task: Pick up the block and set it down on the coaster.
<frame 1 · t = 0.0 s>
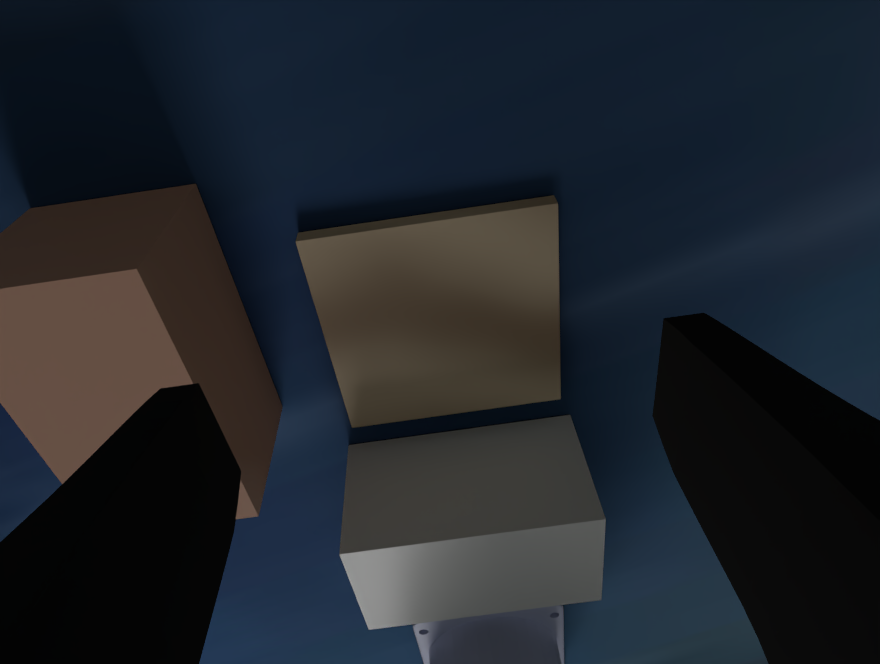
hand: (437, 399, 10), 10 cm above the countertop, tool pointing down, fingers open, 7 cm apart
block: (465, 471, 26), on the countertop
brown boxy piece: (172, 320, 20), on the countertop
coaster: (441, 319, 21), on the countertop
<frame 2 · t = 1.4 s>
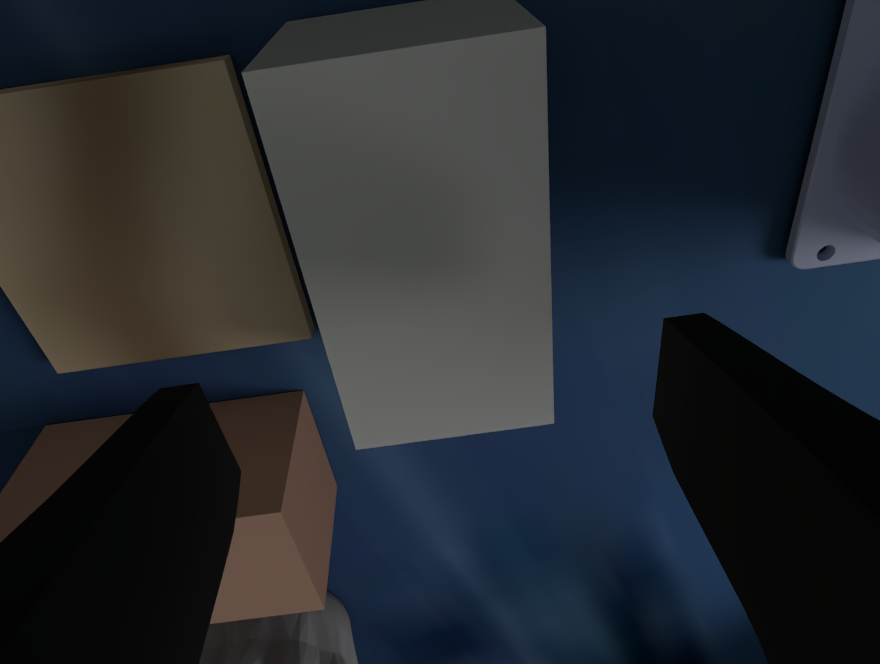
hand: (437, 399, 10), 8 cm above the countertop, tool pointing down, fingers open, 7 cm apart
block: (421, 189, 16), on the countertop
cupcake: (284, 610, 29), on the countertop
brown boxy piece: (200, 457, 22), on the countertop
coaster: (136, 230, 17), on the countertop
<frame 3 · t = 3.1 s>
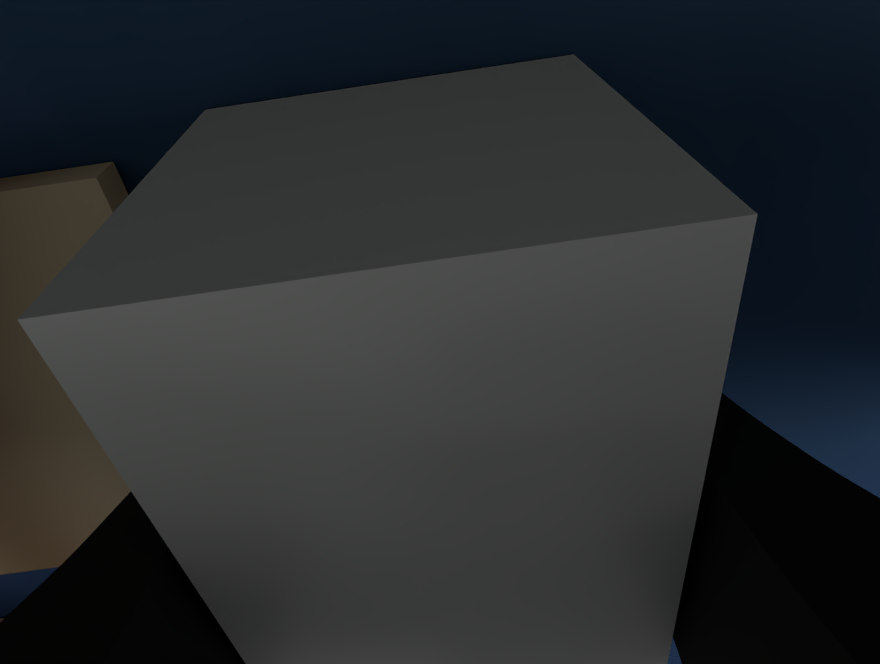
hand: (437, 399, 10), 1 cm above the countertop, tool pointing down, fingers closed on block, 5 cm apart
block: (432, 346, 11), on the countertop, touching gripper
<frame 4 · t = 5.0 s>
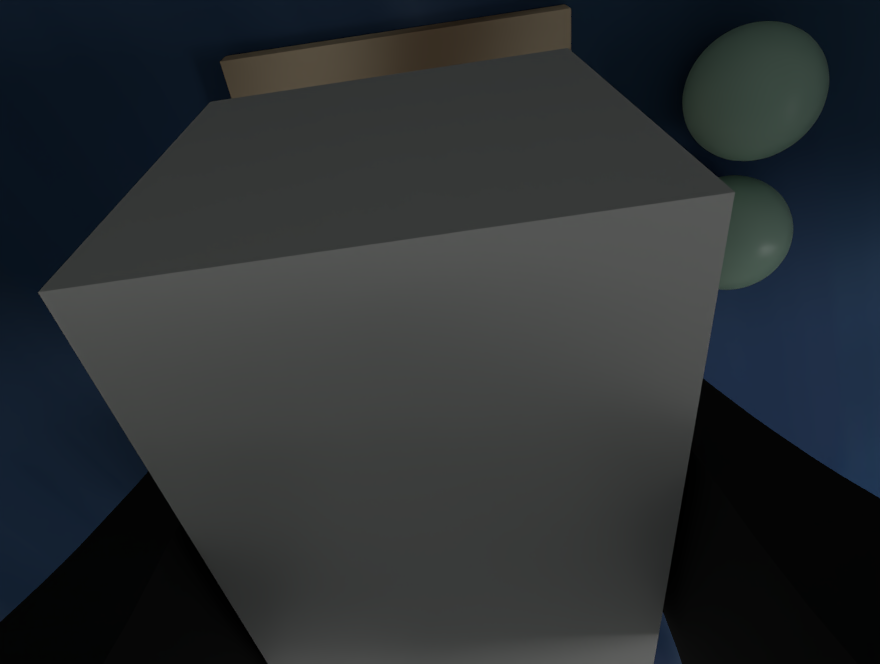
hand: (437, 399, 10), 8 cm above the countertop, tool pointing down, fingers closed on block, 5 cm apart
block: (431, 334, 11), point 7 cm above the countertop, touching gripper
coaster: (419, 191, 16), on the countertop
marble B: (704, 209, 17), on the countertop
marble A: (723, 78, 15), on the countertop
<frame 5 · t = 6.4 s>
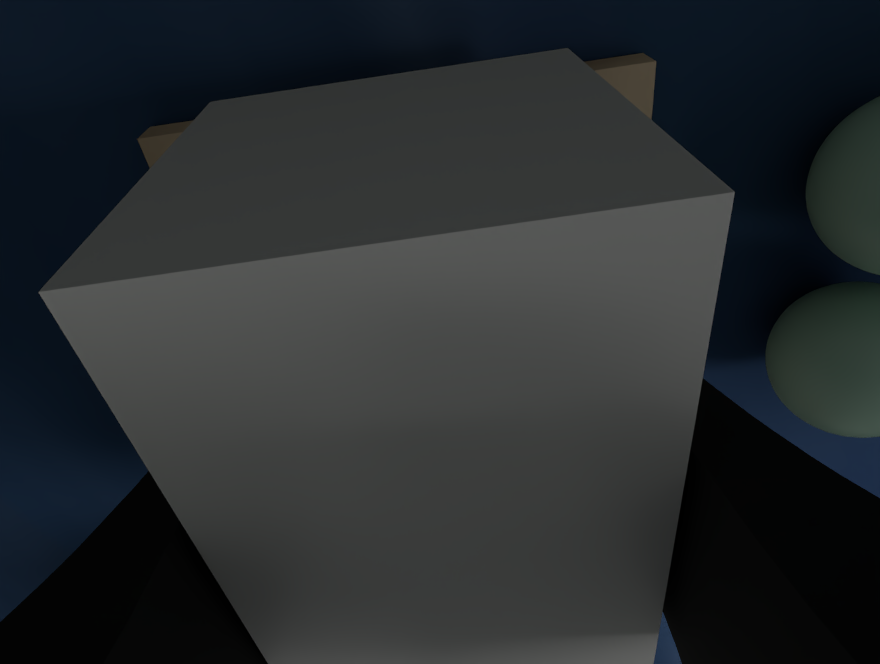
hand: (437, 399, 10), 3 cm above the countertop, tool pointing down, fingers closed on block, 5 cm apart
block: (431, 334, 11), point 1 cm above the countertop, touching gripper
coaster: (428, 298, 12), on the countertop
marble B: (809, 315, 13), on the countertop
marble A: (857, 151, 11), on the countertop
when the fingers open (3 cm above the countertop, at t = 7.2 s): block stays where it is, resting on coaster.
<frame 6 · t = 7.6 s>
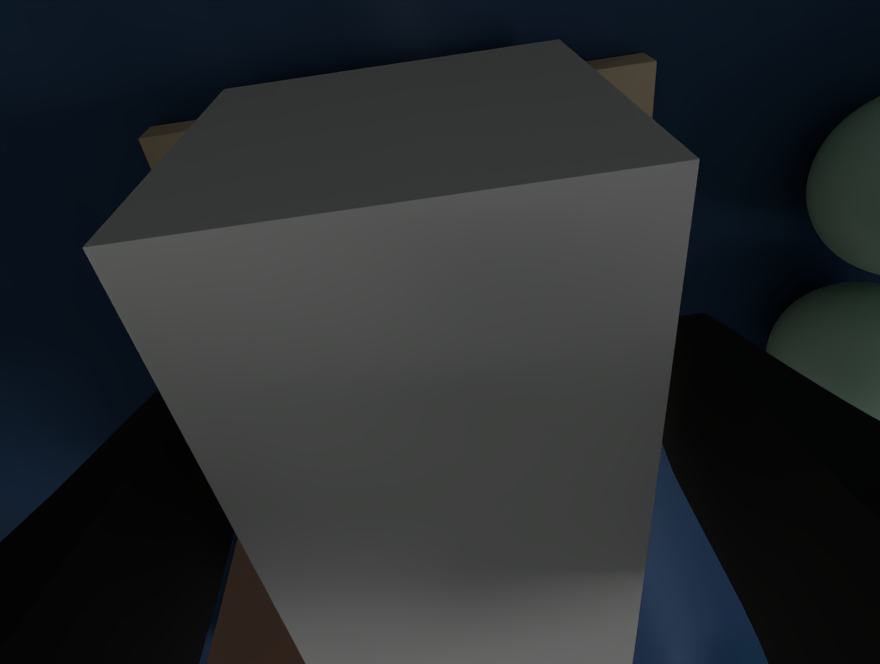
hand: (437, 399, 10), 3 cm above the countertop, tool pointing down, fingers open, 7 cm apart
block: (431, 313, 11), point 1 cm above the countertop, touching coaster
brown boxy piece: (420, 565, 17), on the countertop
coaster: (428, 297, 12), on the countertop
marble B: (810, 315, 13), on the countertop
marble A: (857, 151, 11), on the countertop
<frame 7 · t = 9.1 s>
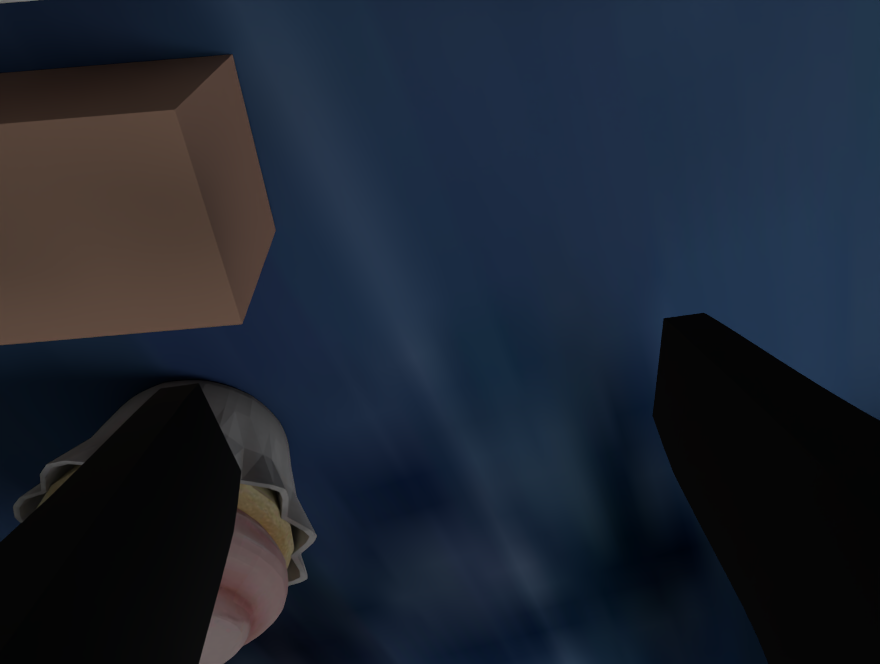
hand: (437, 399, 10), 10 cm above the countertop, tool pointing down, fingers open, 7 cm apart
cupcake: (210, 434, 24), on the countertop
brown boxy piece: (95, 163, 17), on the countertop
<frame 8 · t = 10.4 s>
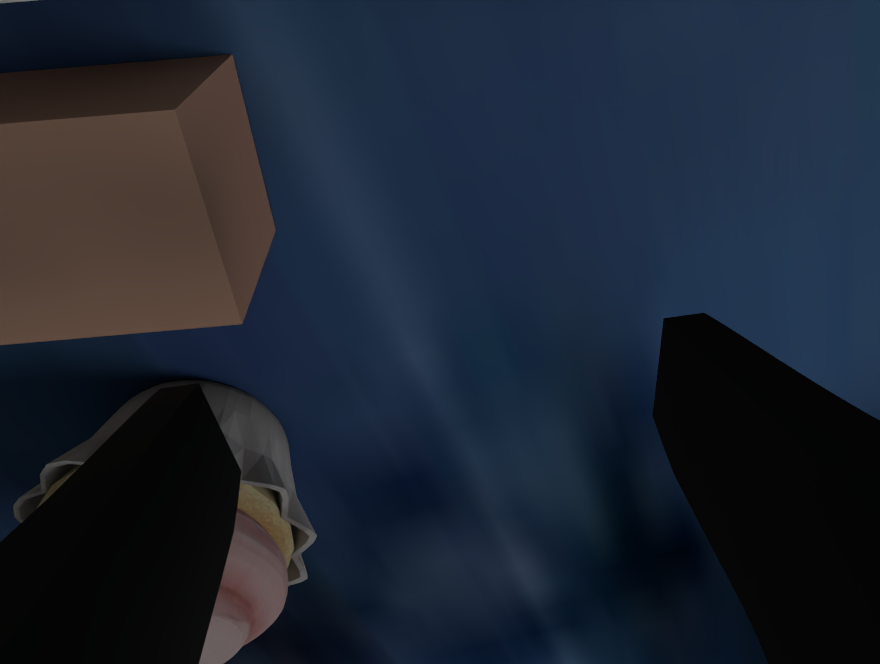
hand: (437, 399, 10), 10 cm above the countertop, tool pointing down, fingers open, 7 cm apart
cupcake: (210, 434, 24), on the countertop
brown boxy piece: (95, 163, 17), on the countertop
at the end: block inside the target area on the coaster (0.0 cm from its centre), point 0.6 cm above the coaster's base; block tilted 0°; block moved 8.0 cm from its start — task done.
